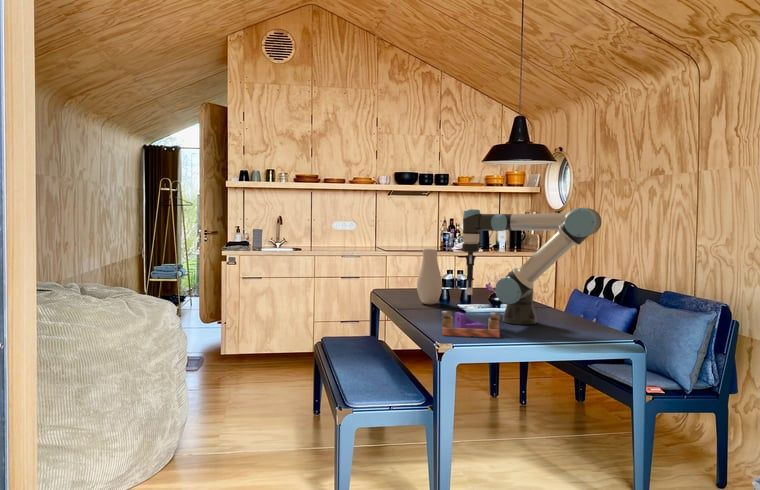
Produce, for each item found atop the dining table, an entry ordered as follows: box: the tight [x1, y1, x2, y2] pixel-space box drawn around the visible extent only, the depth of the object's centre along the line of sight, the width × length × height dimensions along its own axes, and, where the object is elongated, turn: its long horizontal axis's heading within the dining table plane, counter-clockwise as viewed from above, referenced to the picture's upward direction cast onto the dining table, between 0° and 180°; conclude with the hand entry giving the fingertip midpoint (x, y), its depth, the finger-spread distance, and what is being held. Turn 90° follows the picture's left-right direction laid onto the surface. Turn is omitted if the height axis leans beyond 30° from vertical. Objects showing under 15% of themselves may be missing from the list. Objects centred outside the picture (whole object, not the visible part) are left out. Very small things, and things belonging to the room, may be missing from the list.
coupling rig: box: [441, 310, 501, 339], centre depth 253 cm, size 24×10×9 cm, turn 83°
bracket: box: [454, 311, 488, 329], centre depth 266 cm, size 12×7×7 cm, turn 104°
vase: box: [416, 248, 443, 305], centre depth 334 cm, size 14×14×30 cm
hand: (469, 294), depth 280 cm, fingers closed
